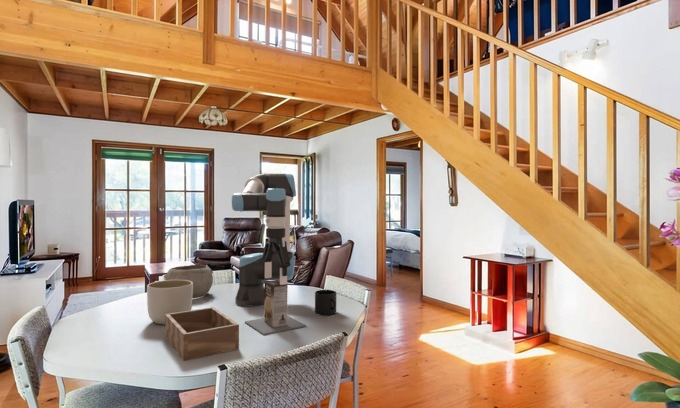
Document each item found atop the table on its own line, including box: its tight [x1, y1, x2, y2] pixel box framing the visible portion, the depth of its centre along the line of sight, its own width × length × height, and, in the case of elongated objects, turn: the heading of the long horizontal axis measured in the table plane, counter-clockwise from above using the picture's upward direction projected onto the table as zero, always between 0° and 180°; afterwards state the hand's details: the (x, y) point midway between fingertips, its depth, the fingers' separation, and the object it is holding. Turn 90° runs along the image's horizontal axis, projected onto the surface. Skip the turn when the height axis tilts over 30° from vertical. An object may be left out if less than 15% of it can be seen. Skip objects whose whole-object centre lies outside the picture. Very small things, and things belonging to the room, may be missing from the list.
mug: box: [314, 289, 337, 316], centre depth 173 cm, size 9×12×9 cm
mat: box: [244, 315, 308, 336], centre depth 157 cm, size 18×18×1 cm
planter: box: [146, 279, 193, 326], centre depth 160 cm, size 17×17×15 cm
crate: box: [164, 306, 240, 361], centre depth 136 cm, size 26×17×8 cm, turn 35°
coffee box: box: [263, 280, 289, 327], centre depth 156 cm, size 9×6×16 cm
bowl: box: [164, 264, 214, 300], centre depth 203 cm, size 23×23×15 cm
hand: (275, 281), depth 157 cm, fingers open, 13 cm apart
